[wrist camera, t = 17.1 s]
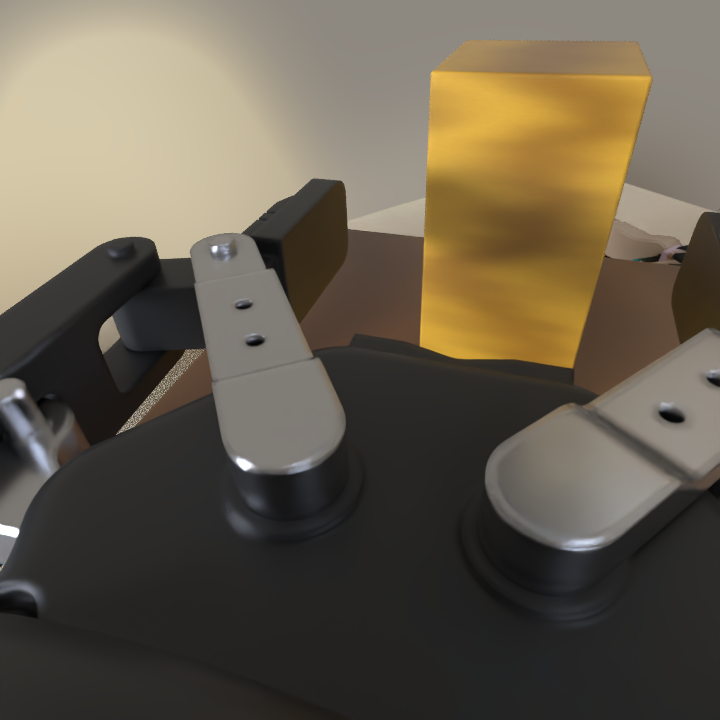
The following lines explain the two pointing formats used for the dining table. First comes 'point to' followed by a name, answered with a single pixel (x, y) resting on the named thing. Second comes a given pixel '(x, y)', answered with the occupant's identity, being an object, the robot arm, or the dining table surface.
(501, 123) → the block
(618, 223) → the toy figure
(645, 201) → the dining table surface
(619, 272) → the board
